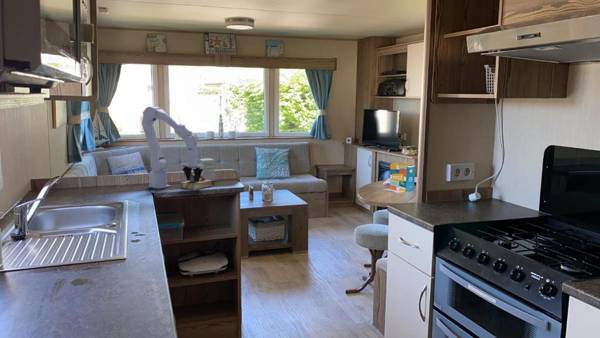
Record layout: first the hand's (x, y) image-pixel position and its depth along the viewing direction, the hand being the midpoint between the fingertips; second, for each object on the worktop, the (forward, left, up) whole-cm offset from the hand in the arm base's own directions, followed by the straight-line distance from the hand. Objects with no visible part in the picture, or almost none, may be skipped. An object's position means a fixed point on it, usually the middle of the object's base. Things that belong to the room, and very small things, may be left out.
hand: (193, 181), depth 259 cm
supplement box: (-8, +20, -4) cm, 22 cm away
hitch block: (0, +2, -4) cm, 4 cm away
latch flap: (0, +6, +1) cm, 7 cm away
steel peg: (0, 0, -4) cm, 4 cm away
